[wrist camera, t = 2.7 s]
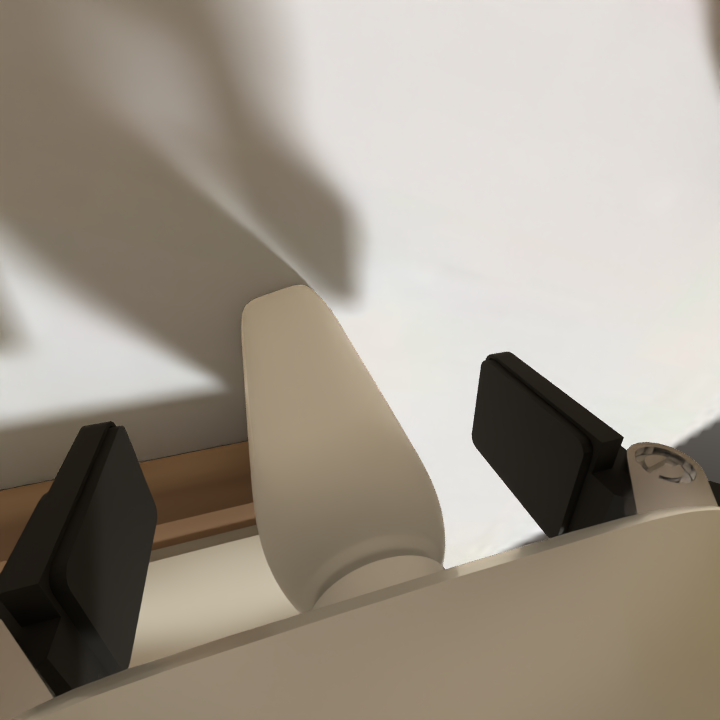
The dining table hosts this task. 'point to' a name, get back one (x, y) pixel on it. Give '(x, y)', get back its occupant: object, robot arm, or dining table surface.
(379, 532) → the eye dropper bottle
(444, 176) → the dining table surface
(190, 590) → the picture frame
